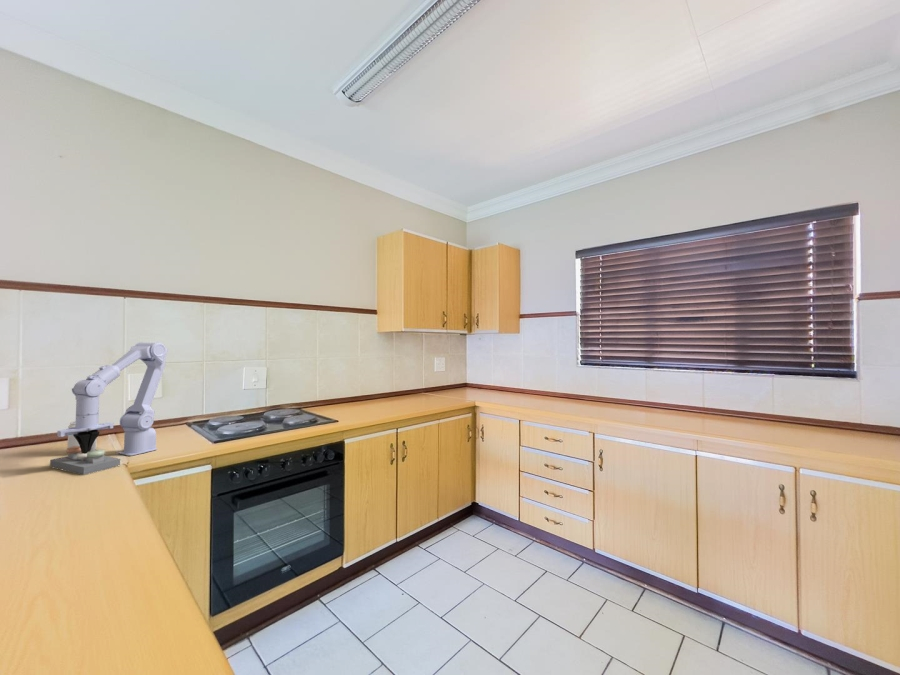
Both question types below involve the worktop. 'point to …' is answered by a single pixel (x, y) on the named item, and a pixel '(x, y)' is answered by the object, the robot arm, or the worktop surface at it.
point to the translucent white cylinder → (74, 442)
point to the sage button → (95, 456)
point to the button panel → (83, 464)
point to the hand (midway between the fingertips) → (85, 452)
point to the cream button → (82, 456)
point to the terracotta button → (73, 452)
